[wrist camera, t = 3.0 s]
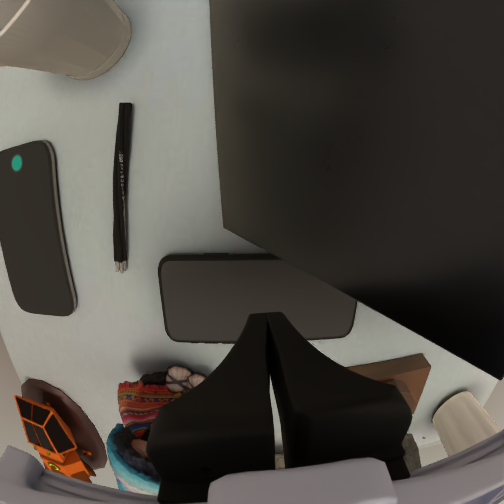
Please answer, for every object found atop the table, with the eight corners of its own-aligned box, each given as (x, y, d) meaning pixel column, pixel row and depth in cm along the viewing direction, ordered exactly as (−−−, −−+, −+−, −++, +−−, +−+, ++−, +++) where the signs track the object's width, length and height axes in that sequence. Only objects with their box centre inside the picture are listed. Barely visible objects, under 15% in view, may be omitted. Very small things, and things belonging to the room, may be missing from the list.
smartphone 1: (49, 136, 18) (77, 318, 22) (55, 136, 18) (81, 314, 23) (-11, 154, 18) (18, 312, 22) (-5, 153, 18) (22, 308, 23)
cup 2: (440, 389, 27) (495, 478, 14) (484, 378, 28) (538, 450, 14) (415, 433, 30) (454, 515, 16) (459, 420, 30) (500, 490, 17)
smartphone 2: (352, 339, 23) (166, 343, 23) (348, 333, 24) (168, 337, 24) (365, 254, 21) (154, 256, 21) (361, 250, 22) (157, 251, 21)
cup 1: (123, -16, 15) (53, -94, 3) (157, 51, 17) (76, -28, 6) (44, 40, 16) (-53, 5, 4) (68, 109, 18) (-50, 99, 7)
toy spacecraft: (87, 394, 27) (65, 437, 20) (118, 477, 33) (109, 510, 27) (6, 366, 26) (-20, 398, 20) (50, 454, 32) (37, 482, 26)
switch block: (422, 353, 26) (440, 377, 22) (406, 401, 28) (419, 425, 24) (327, 369, 26) (337, 400, 22) (321, 417, 28) (328, 446, 24)
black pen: (129, 269, 22) (124, 274, 21) (117, 267, 22) (112, 272, 21) (134, 104, 18) (129, 102, 17) (122, 104, 18) (116, 102, 17)
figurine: (247, 362, 25) (249, 526, 11) (228, 413, 27) (222, 550, 13) (134, 333, 24) (63, 479, 10) (130, 388, 26) (82, 515, 12)
